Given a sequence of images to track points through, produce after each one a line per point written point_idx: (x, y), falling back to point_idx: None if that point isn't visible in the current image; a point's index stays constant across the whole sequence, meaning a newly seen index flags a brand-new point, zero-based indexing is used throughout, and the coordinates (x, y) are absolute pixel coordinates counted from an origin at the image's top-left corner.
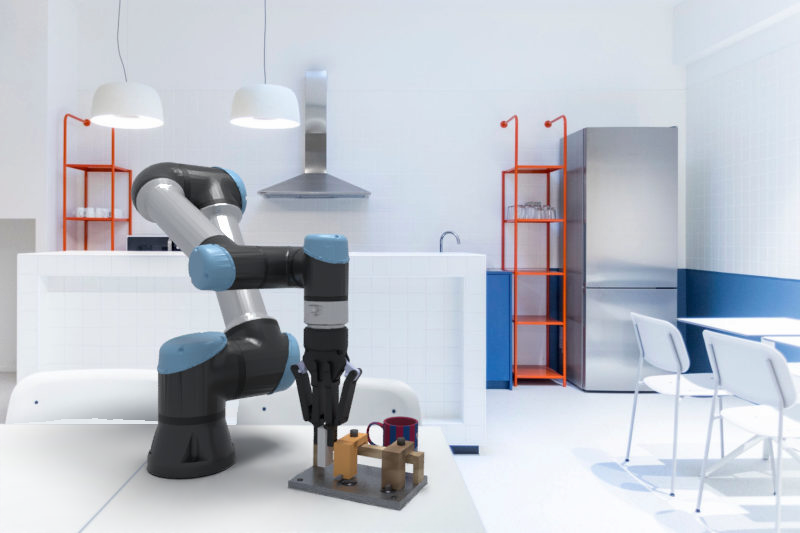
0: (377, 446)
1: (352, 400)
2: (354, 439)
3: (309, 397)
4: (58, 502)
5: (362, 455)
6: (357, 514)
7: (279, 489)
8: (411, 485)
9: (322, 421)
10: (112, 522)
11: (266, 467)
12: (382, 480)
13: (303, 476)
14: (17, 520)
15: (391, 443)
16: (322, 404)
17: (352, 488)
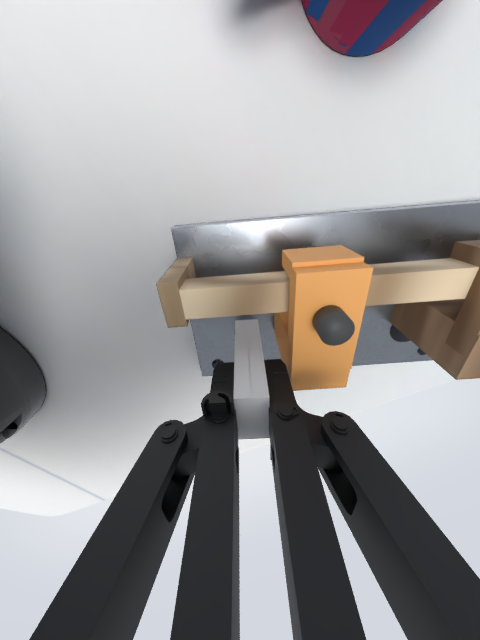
0: (405, 280)
1: (454, 547)
2: (344, 348)
3: (141, 572)
4: (18, 491)
5: None
6: (360, 386)
7: (195, 375)
8: None
9: (235, 431)
10: (115, 490)
11: (79, 312)
12: (401, 329)
13: (212, 350)
14: (45, 512)
15: (393, 10)
16: (235, 522)
17: None
